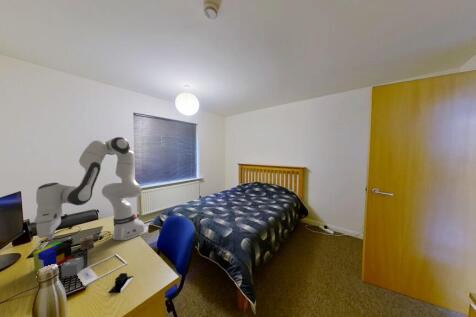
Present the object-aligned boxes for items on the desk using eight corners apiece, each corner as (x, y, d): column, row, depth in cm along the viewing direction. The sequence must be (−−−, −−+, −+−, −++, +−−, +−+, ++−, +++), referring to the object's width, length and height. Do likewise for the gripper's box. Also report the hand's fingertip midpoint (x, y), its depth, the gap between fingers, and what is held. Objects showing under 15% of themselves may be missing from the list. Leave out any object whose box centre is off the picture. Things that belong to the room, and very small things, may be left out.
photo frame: (75, 272, 84) (116, 253, 99) (75, 274, 84) (116, 255, 99) (84, 285, 76) (127, 262, 91) (84, 287, 76) (127, 264, 91)
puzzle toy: (48, 273, 84) (47, 254, 84) (34, 270, 86) (33, 252, 86) (72, 260, 94) (70, 243, 94) (58, 258, 96) (57, 241, 96)
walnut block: (93, 243, 111) (92, 234, 111) (93, 247, 107) (93, 237, 107) (80, 247, 107) (80, 237, 107) (81, 251, 103) (80, 241, 102)
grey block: (83, 267, 88) (83, 256, 88) (77, 275, 83) (76, 263, 82) (69, 270, 86) (68, 258, 86) (61, 278, 81) (61, 266, 80)
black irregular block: (123, 275, 83) (123, 266, 83) (137, 275, 83) (137, 266, 83) (103, 297, 71) (102, 287, 71) (120, 297, 71) (119, 287, 71)
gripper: (48, 209, 95) (49, 232, 96) (32, 221, 78) (34, 249, 79) (64, 207, 99) (65, 229, 99) (52, 218, 82) (53, 245, 83)
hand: (51, 238), depth 89 cm, fingers closed
